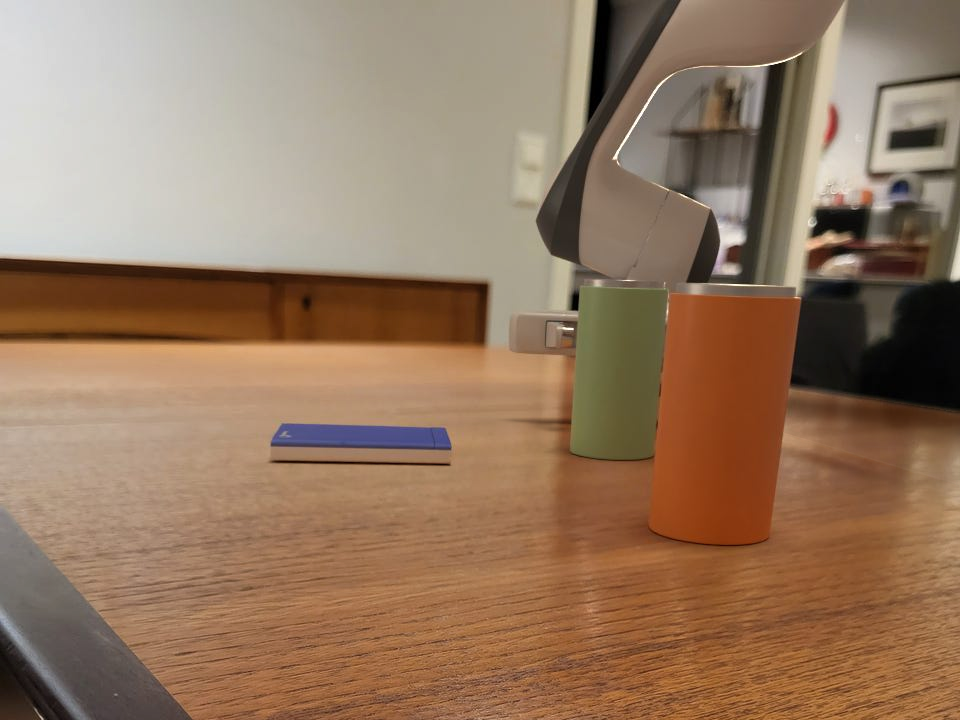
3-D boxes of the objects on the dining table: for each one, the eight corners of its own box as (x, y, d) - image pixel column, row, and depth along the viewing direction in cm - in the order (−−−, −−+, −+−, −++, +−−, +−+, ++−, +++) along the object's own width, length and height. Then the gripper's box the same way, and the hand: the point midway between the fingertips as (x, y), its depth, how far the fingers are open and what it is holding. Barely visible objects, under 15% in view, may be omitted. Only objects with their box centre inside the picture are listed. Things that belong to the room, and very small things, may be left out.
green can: (633, 445, 80) (647, 280, 76) (667, 459, 75) (684, 282, 70) (558, 446, 79) (568, 278, 74) (586, 461, 73) (599, 279, 69)
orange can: (732, 514, 58) (760, 285, 53) (792, 542, 52) (829, 287, 48) (630, 517, 56) (650, 281, 52) (679, 547, 50) (707, 283, 46)
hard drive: (269, 439, 68) (451, 443, 69) (281, 421, 76) (445, 425, 77) (270, 462, 68) (451, 465, 70) (282, 442, 76) (444, 446, 77)
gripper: (516, 293, 96) (498, 295, 83) (733, 301, 94) (748, 304, 81) (514, 360, 99) (495, 373, 86) (725, 370, 96) (739, 384, 83)
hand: (620, 340), depth 83 cm, fingers open, 8 cm apart
